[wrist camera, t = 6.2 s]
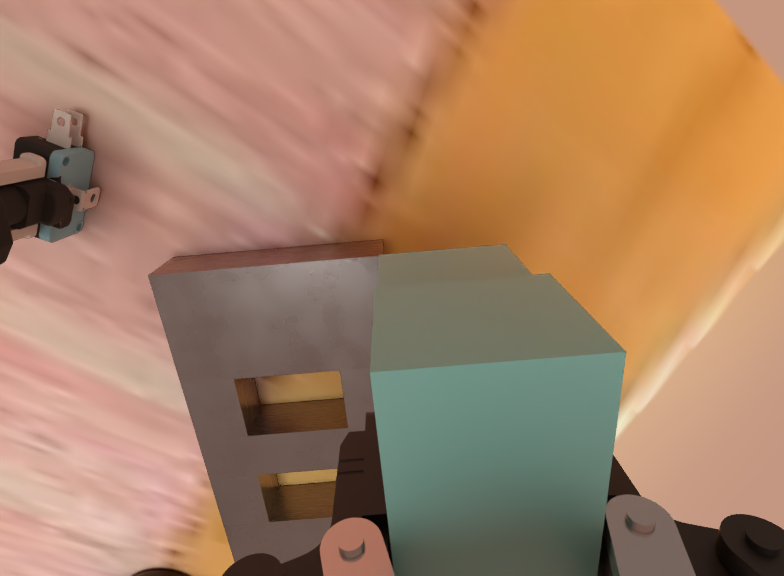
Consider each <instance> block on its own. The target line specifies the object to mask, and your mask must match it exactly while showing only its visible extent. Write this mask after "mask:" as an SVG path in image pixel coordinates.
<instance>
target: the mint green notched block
mask: <svg viewBox="0 0 784 576" xmlns="http://www.w3.org/2000/svg"><path fill="white" fill-rule="evenodd" d="M625 358H626V351H625V350H624V349H623V348H622V347H621V346H620V345H619V344H618V343H617V342H616V341H615V340H614V339H613V338H612V337H611V336H610V335H609V334H608V333H607V332H606V331H605V330H604V329H603V328H602V327H601V326H600V324H599V323H598V322H597V321H596V320H595V319H594V318H593V317H592V316H591V315H590V314H589V313H588V312H587V311H586V310H585V309H584V308H583V307H582V306H581V305H580V304H579V303H578V302H577V301H576V300H575V299H574V298H573V297H572V296H571V295H570V294H569V293H568V292H567V291H566V290H565V289H564V288H563V287H562V286H561V285H560V283H559V282H558V281H557V280H556V279H555V278H554V277H553V276H552V275H551V274H538V275H532V274H531V273H530V271H529V270H528V269H527V268H526V267H525V266H524V265H523V263H522V262H521V261H520V260H519V259H518V258H517V256H516V255H515V254H514V253H513V252H512V251H511V250H510V248H509V247H508V246H507V245H506V244H501V245H489V246H477V247H465V248H453V249H442V250H430V251H418V252H406V253H395V254H383V255H379V266H378V288H375V291H374V309H373V326H372V344H371V362H370V378H371V386H372V394H373V402H374V411H375V419H376V427H377V436H378V444H379V452H380V460H381V469H382V477H383V485H384V494H385V502H386V510H387V518H388V527H389V535H390V543H391V552H392V560H393V568H394V574H395V576H597V573H598V565H599V558H600V550H601V542H602V535H603V527H604V519H605V511H606V504H607V496H608V488H609V481H610V473H611V465H612V458H613V449H614V442H615V435H616V427H617V419H618V411H619V404H620V396H621V388H622V381H623V373H624V365H625Z"/></svg>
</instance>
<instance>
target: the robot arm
mask: <svg viewBox="0 0 784 576" xmlns="http://www.w3.org/2000/svg"><path fill="white" fill-rule="evenodd" d="M222 576H395V574H394V568H393V560H392V552H391V543H390V535H389V527H388V518H387V510H386V502H385V494H384V485H383V477H382V469H381V460H380V452H379V444H378V436H377V427H376V419H375V411H374V412H366V421H365V431H354V432H349V433H348V434H347V436H346V437H345V439H344V440H343V442H342V443H341V445H340V451H339V463H338V469H337V478H336V487H335V496H334V505H333V514H332V522H331V527H330V529H329V530H328V531H327V532H326V534H325V535H324V537H323V539H322V542H321V543H320V544H319V545H318V546H317V547H316V548H314V549H313V550H311V551H310V552H308V553H306V554H304V555H302V556H300V557H297V558H295V559H292V560H290V561H287V562H285V563H282V564H281V563H280V561H279V560H278V559H277V558H276V557H274V556H272V555H270V554H265V553H256V554H251V555H248V556H246V557H244V558H241V559H240V560H238V561H237V562H235V563H234V564H233V565H231V566H230V567H229V568H228V569H227V570H226V571H225V573H224V574H223V575H222ZM597 576H784V530H783V529H782V528H780V527H779V526H777V525H775V524H773V523H771V522H769V521H767V520H765V519H762V518H758V517H755V516H751V515H745V514H736V515H731V516H728V517H726V518H725V519H724V520H723V521H722V522H721V525H720V529H719V530H718V529H713V528H708V527H702V526H697V525H692V524H686V523H682V522H679V521H676V520H673V518H672V517H671V516H670V514H669V513H668V512H667V511H666V510H665V509H663V508H662V507H661V506H660V505H658V504H657V503H655V502H653V501H651V500H649V499H647V498H644V497H641V495H640V494H639V492H638V491H637V489H636V488H635V486H634V485H633V484H632V482H631V480H630V479H629V477H628V476H627V475H626V473H625V472H624V470H623V469H622V467H621V466H620V464H619V463H618V461H617V460H616V458H615V457H614V455H613V458H612V465H611V473H610V481H609V488H608V496H607V504H606V511H605V519H604V527H603V535H602V542H601V550H600V558H599V565H598V573H597Z"/></svg>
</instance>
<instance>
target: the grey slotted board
mask: <svg viewBox="0 0 784 576" xmlns="http://www.w3.org/2000/svg"><path fill="white" fill-rule="evenodd" d="M383 254H384V249H383V240H371V241H359V242H348V243H336V244H324V245H312V246H301V247H289V248H277V249H265V250H254V251H242V252H230V253H218V254H207V255H195V256H183V257H173V258H172V259H170V260H169V261H167V262H166V263H165V264H163V265H162V266H161V267H159V268H158V269H156V270H155V271H154V272H152V273H151V274H149V275H148V277H149V280H150V284H151V287H152V290H153V294H154V297H155V300H156V303H157V307H158V310H159V313H160V317H161V320H162V323H163V327H164V330H165V333H166V337H167V340H168V343H169V346H170V350H171V353H172V356H173V360H174V363H175V366H176V370H177V373H178V376H179V380H180V383H181V386H182V389H183V393H184V396H185V399H186V403H187V406H188V409H189V413H190V416H191V419H192V423H193V426H194V429H195V432H196V436H197V439H198V442H199V446H200V449H201V452H202V456H203V459H204V462H205V466H206V469H207V472H208V476H209V479H210V482H211V485H212V489H213V492H214V495H215V499H216V502H217V505H218V509H219V512H220V515H221V519H222V522H223V525H224V528H225V532H226V535H227V538H228V542H229V545H230V548H231V552H232V555H233V558H234V562H237V561H238V560H240V559H241V558H244V557H246V556H248V555H251V554H256V553H265V554H270V555H272V556H274V557H276V558H277V559H278V560H279V561H280V563H281V564H282V563H285V562H287V561H290V560H292V559H295V558H297V557H300V556H302V555H304V554H306V553H308V552H310V551H311V550H313V549H314V548H316V547H317V546H318V545H319V544H320V543H321V542H322V539H323V537H324V535H325V534H326V532H327V531H328V530H329V529H330V527H331V522H332V514H333V505H334V496H335V487H336V482H326V483H314V484H302V485H289V486H279V484H278V480H277V475H276V473H288V472H301V471H313V470H325V469H338V463H339V451H340V445H341V443H342V442H343V440H344V439H345V437H346V436H347V434H348V433H349V432H354V431H365V421H366V412H374V402H373V394H372V386H371V378H370V362H371V344H372V326H373V309H374V291H375V288H378V266H379V255H383ZM337 370H340V375H341V382H342V388H343V395H344V398H343V399H331V400H319V401H306V402H294V403H282V404H270V405H260V401H259V397H258V393H257V388H256V384H255V380H254V377H265V376H277V375H289V374H301V373H313V372H325V371H337Z"/></svg>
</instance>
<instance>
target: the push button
mask: <svg viewBox="0 0 784 576" xmlns="http://www.w3.org/2000/svg"><path fill="white" fill-rule="evenodd" d="M60 117H61V118H63V119H64V120H65V122H64V126H61V125H59V123H58V118H60ZM72 117H74V118H76V119H77V122H78V123H77V125H76V126H74V125H72V124H71V120H72ZM83 117H84V116H83V115H82V114H81V113H78V112H76V111H74V110H71V109H67V110H66V112H64V111H61V110H59V109H54V112H53V119H52V126H51V130H50V129H48V130H47V138H46V139H44V138H42V137H39V136H29V137H20V138H18V139H17V140H16V142H15V148H14V157H13V159H10V160H3V161H0V264H2V263H4V262H5V261H6V259H7V257H8V254H9V252H10V249H11V247H12V244H13V241H15V240H17V239H20V238H26V239H29V238H32V237H37V238H39V239H42V240H45V241H48V242H51V243H53V242H55V241H58V240H60V239H63V238H65V237H68V236H70V235H73V234H76V233H78V232H80V231H81V229H82V227H83V223H84V220H83V219H84V213H85V210H86V209H89V208H92V207H95V206H96V205H97V203H98V200H99V194H100V188H99V187H96V188H92V189H89V185H90V179H91V173H92V167H93V162H94V151H91V150H89V149H86V148H84V147H82V143H83V137H82V136H81V129H82V123H83ZM93 194H94V195H95V197H94V200H93V201H92V202H90V199H91V196H92V195H93Z"/></svg>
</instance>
